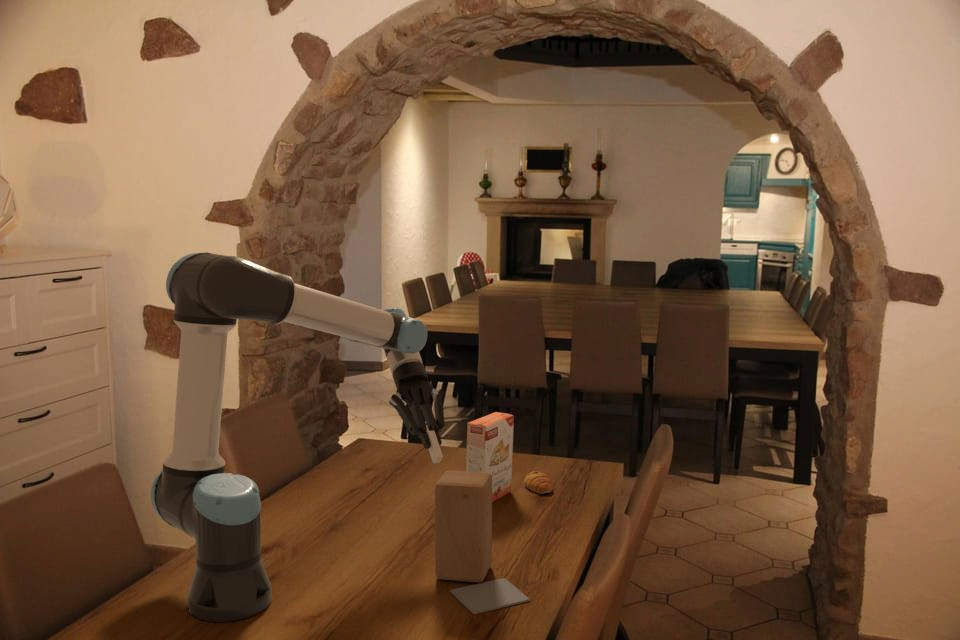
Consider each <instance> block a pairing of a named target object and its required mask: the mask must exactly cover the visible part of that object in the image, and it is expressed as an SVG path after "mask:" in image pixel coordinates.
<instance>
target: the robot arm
mask: <svg viewBox="0 0 960 640" xmlns="http://www.w3.org/2000/svg"><path fill="white" fill-rule="evenodd" d="M165 289H166V293H167V297H168V298H169V299H170V301H171V302H172V304H173V305H174V311H173V322H174V324H175V325H176V326H177V327H178V329H180V344H179V356H178V370H177V386H176V398H175V411H174V423H173V424H174V425H173V434H172V435H173V436H172V437H173V439H172V448H171V449H172V451H171V453H170V454H169V455H167V456H166V457H165V458H164V459H163V461H162V469H161V470H160V471H159V474H158V475H157V476H155V478H154V480H153V482H152V485H151V489H150V501H151V506H152V508H153V510H154V511H155V513H156V514H157V515H158V516H159V517H160V518H161V519H162V520H163V521H164V522H165V523H166V524H167V525H169V526H171V527H173V528H176V529H177V530H180V531H181V532H183V533H184V534H186V535H188V536H190V537H191V538H193V539H194V541H195V558H196V559H195V562H196V566H195V570H194V574H193V576H192V580H191V583H190V587H189V589H188V590H189V591H188V593H187V609H188V608H189V610H190V612H191V613H192V614H193V615H194V616H196V617H198V618H197V619H199V618H200V619H199V620H202V619H203V621H206V622H223V623H224V622H233V621H238V620H243V619H246V618H249V617H253V616H255V615H257V614H259V613H261V612H263V611H264V610H265V609H266V608H267V607H269V606H270V604H271V602H272V600H273V599H272V596H273V592H272V591H273V590H272V584H271V581H270V579H269V577H268V574H267V573H268V572H267V571H266V568H265V566H264V563H263V561H262V540H261V539H262V536H261V535H262V534H261V533H262V531H261V522H262V521H261V509H262V501H261V497H260V488H259V486H258V485H257V483H256V482H255V481H254V480H253V479H251V478H249V477H248V476H246V475H243V474H242V475H241V474H239V473H237V474H233V473H229V472H227V473H226V471H225V470H226V460H225V459H224V458H223V457H222V456H221V455H220V454H219V449H220V447H219V445H220V435H221V433H220V432H221V421H222V409H223V395H224V383H225V381H224V380H225V371H226V356H227V347H228V346H227V344H228V334H229V332H230V331H232V330H233V329H234V328H235V327H236V326H237V323H238V322H237V321H238V320H242V321H243V320H244V321H245V320H247V321H255V322H260V323H262V322H263V323H266V324H272V325H274V326H275V325H279V324H282V323H283V322H284V323H288V324H291V325H296V326H300V327H303V328H308V329H312V330H314V331H315V330H316V331H319V332H323V333H327V334H331V335H335V336H339V337H340V338H341V339H343V340H346V341H349V342H352V343H355V342H356V343H358V344H362V345H368V346H372V347H378V348H380V349H381V348H382V349H383V351H384V354H385V357H386V361H387V363H388V367H389V369H390V373H391V374H392V375H391V376H392V379H393V382H394V385H395V388H396V392H395V394H392V395H391V397H390V399H389V401H388V403H389V404H390V406H392V407H393V408H394V409H395V410H396V413H397V414H398V415H399V417H400V419H401V420H402V422H403V423H404V425H405V427H406V429H407V430H408V431H409V433H410V436H417V437H418V439H420V440H421V443H422V446H423V448H424V449H425V450H427V449H428V452H429V455H430V458H431V461H432V462H431V463H432V464H440V462H441V461H442V459H443V457H444V455H443V452H442V449H441V446H442V443H443V441H442V439H441V435H440V432H442V430H443V429H444V427H445V425H446V424H445V416H444V404H443V397H444V394H445V390H444V389H443V388H442V389H436V388H434V387H433V385H432V384H431V383H430V381H429V378H428V374H427V371H426V369H425V365H424V364H423V360H422V356H421V354H420V351H422V350H423V348H424V347H425V345H426V343H427V340H428V329H427V327H426V325H425V323H424V322H423V321H422V320H420V319H417V318H414V317H412V316H411V317H410V316H407V315H406V313H405V311H404V310H402V309H401V308H398V307H393V308H385V309H381V308H378V307H373V306H372V305H367V304H364V303H360V302H357V301H353V300H350V299H347V298H344V297H341V296H337V295H334V294H330V293H328V292H324V291H321V290H317V289H315V288H311V287H307V286H304V285H302V284H298V283H295V281H294V280H293V278H292V277H291V276H289V275H287V274H283V273H281V272H277V271H275V270H272V269H270V268H268V267H265V266H262V265H260V264H258V263H256V262H254V261H251V260H247V259H246V258H243V257H239V256H233V255H224V254H216V253H210V252H194V253H189V254H186V255H185V256H181V258H179V259H178V260H177V261H176V262H174V263H173V264H172V266H171V267H170V269H169V271H168V273H167V276H166V280H165ZM431 396H432V400H433V401H434V402H433V407H434V408H433V409H434V412H433V409H432V406H431V403H430V402H431V401H430V400H431V399H430V397H431ZM406 404H407V405H408V407H407V405H406ZM408 408H409V409H408ZM410 412H411V413H410ZM189 610H188V611H189ZM190 612H189V613H190ZM191 613H190V614H191ZM192 614H191V615H192ZM193 615H192V616H193ZM194 616H193V617H194ZM196 617H195V618H196Z"/></svg>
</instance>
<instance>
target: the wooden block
mask: <svg viewBox="0 0 960 640" xmlns="http://www.w3.org/2000/svg"><path fill="white" fill-rule="evenodd" d="M434 536H435V537H434V544H435V546H434V551H435V552H434V553H435V556H434V559H435V564H434V565H435V567H434V568H435V569H434V571H435V576H436V579H439V580H445V581H456V582H457V581H458V582H468V583H469V582H471V583H483V582H484V580H485V578H486V576H487V574H488V572H489V569H490V568H491V566H492V563H493V502H492V476H491V474H489V473H486V472H470V471H466V470H453V469H452V470H450V469H449V470H446V471H445V472H444V473H443V474H442V475H441V477H440V478H439V479H438V481H437V482H436V483H435V485H434Z"/></svg>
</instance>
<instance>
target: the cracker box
mask: <svg viewBox="0 0 960 640" xmlns="http://www.w3.org/2000/svg"><path fill="white" fill-rule="evenodd" d="M514 420H515V415H513V414H510V413H504V412H498V411H495V412H492V413H489V414H487V415H485V416H481V417H479V418H477V419H474V420H471V421H469V422H467V423H466V425H467V427H466V429H467V430H466V459H465V460H466V461H465V462H466V463H465V464H466V465H465V466H466V467H465V471H470V472H486V473H489V474H491V476H492V503H494V502H496V501H497V500H500V499H501V498H503V497H504V496H506V495H508V494H510V493H512V481H513V480H512V477H513V449H514V446H513V445H514Z"/></svg>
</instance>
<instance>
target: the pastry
mask: <svg viewBox="0 0 960 640" xmlns="http://www.w3.org/2000/svg"><path fill="white" fill-rule="evenodd" d="M523 481H524V482H523V483H524V486H525V487H526V488H527V489H528V490H529V489H530V492H533V491H534V492H533V493H535V492H536V493H535V494H540V495H543V494H546V493H547V494H548V493H552V491H553V489H554V487H553V483H552V480H551V479H550V477H549V476H548V475H547V474H546V473H542V472H541V471H538V470H533V471H531V472H529V473H528V472H527V474H526V475H525V477H524V479H523Z"/></svg>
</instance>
